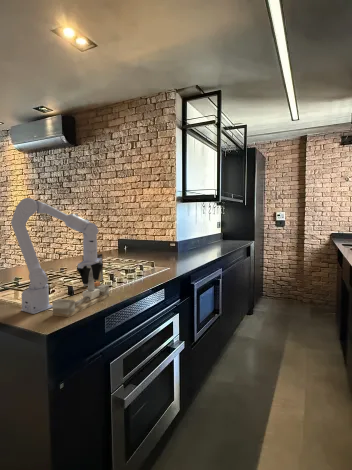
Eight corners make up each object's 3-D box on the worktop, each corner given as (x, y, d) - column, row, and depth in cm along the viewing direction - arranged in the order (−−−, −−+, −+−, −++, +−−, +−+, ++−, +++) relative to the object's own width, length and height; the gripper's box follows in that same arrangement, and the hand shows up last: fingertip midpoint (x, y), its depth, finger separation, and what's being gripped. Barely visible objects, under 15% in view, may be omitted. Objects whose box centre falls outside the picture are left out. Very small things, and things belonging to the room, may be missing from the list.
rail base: (68, 317, 109) (67, 303, 108) (52, 315, 111) (52, 301, 110) (108, 296, 135) (108, 285, 135) (95, 294, 137) (95, 283, 137)
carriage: (91, 299, 124) (91, 281, 124) (82, 298, 126) (82, 280, 125) (99, 295, 130) (99, 278, 129) (91, 294, 132) (90, 277, 131)
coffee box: (93, 282, 161) (92, 253, 159) (103, 283, 159) (102, 253, 157) (82, 286, 152) (82, 255, 150) (93, 287, 150) (92, 256, 148)
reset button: (97, 289, 133) (97, 282, 133) (93, 288, 134) (93, 282, 133) (100, 288, 135) (100, 281, 135) (96, 287, 136) (96, 281, 136)
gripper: (87, 253, 118) (88, 286, 119) (107, 248, 132) (107, 278, 133) (73, 252, 120) (74, 285, 121) (94, 248, 134) (94, 277, 135)
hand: (90, 281), depth 127 cm, fingers open, 7 cm apart
